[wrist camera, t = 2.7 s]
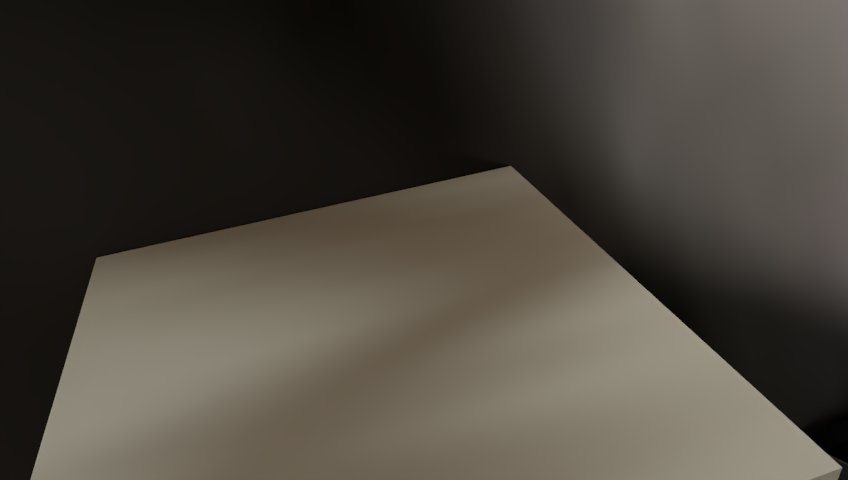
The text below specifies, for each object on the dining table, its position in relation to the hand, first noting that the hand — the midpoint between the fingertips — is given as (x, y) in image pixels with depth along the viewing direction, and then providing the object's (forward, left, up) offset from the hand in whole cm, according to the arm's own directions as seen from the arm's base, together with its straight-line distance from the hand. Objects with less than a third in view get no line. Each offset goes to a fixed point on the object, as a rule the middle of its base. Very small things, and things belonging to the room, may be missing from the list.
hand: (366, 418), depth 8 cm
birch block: (0, 0, -1) cm, 1 cm away
